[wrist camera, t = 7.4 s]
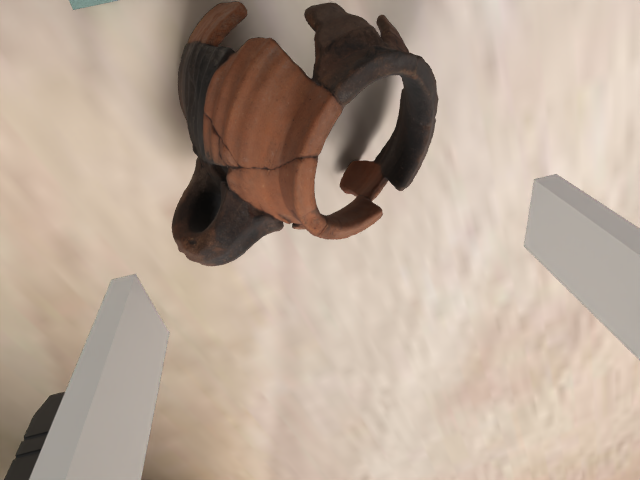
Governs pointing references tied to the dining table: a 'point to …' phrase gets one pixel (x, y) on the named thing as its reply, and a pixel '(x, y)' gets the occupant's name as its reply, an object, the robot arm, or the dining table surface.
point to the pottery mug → (288, 129)
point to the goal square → (87, 3)
